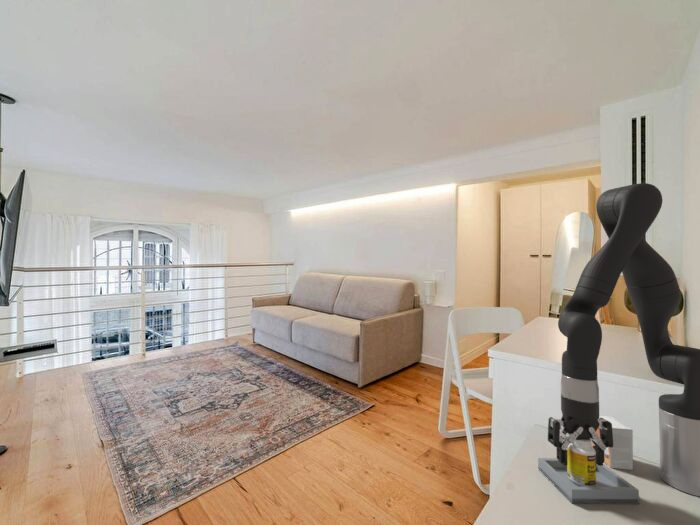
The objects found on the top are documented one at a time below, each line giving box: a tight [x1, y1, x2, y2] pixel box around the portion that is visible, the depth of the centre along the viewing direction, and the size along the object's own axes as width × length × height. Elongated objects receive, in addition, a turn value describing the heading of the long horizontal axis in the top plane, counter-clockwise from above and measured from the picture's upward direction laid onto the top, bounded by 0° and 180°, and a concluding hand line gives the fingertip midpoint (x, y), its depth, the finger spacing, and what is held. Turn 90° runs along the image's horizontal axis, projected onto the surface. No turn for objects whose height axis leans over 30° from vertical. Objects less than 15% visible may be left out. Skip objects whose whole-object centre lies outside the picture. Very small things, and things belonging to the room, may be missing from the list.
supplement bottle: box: [566, 439, 596, 487], centre depth 76 cm, size 6×6×10 cm
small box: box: [591, 415, 634, 471], centre depth 86 cm, size 8×6×10 cm
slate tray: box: [537, 457, 640, 505], centre depth 76 cm, size 15×12×3 cm
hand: (580, 463), depth 76 cm, fingers open, 8 cm apart
